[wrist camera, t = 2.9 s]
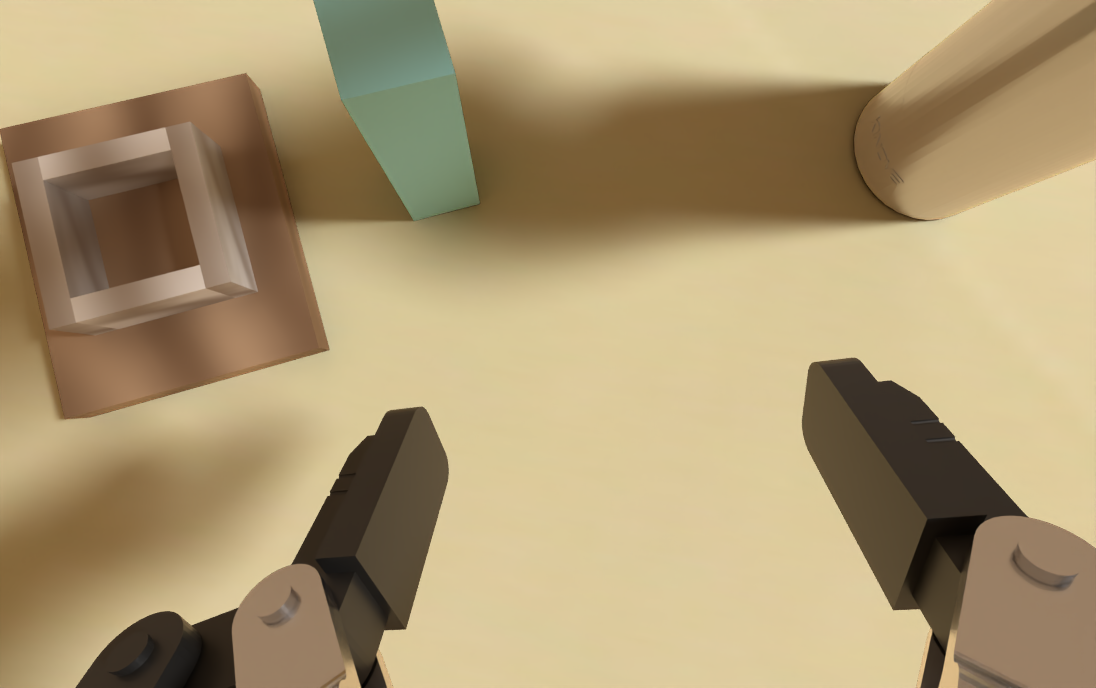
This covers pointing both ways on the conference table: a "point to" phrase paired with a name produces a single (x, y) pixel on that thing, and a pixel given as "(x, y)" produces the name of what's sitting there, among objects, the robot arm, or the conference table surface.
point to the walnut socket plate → (161, 244)
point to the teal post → (403, 98)
